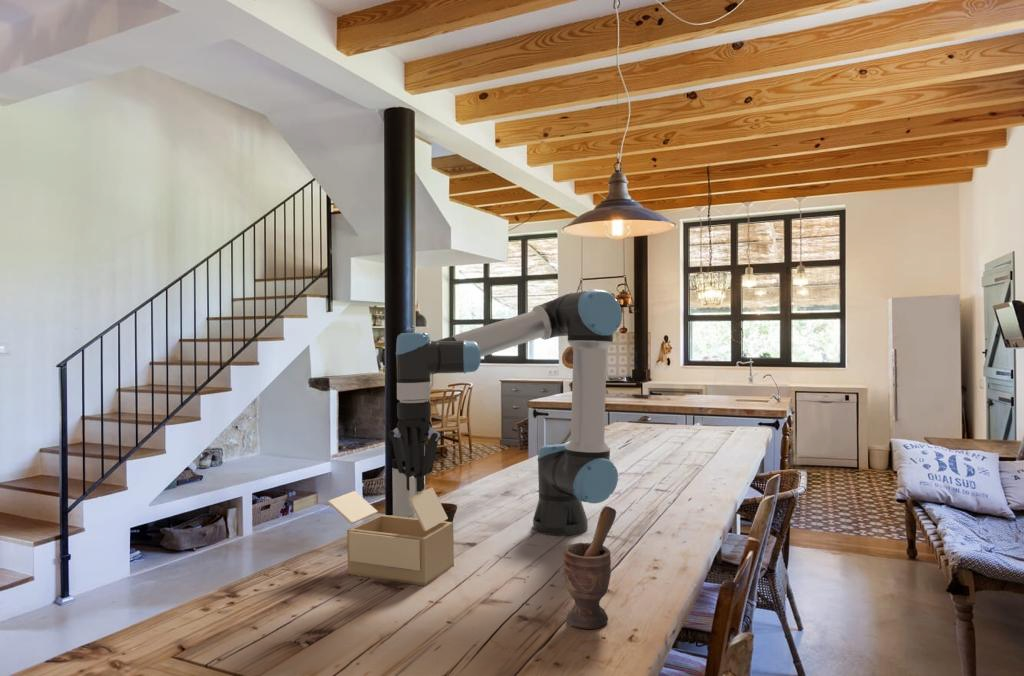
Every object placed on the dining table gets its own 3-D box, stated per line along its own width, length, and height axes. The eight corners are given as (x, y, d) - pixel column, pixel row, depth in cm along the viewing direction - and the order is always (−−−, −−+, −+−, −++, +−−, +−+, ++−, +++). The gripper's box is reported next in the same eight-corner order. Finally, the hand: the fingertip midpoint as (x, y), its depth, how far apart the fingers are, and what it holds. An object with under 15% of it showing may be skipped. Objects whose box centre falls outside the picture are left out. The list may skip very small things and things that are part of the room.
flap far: (352, 522, 142) (328, 500, 144) (351, 524, 142) (327, 502, 145) (377, 511, 151) (354, 490, 154) (376, 513, 151) (354, 492, 154)
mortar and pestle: (582, 601, 124) (580, 500, 124) (624, 610, 119) (622, 505, 120) (557, 625, 114) (555, 515, 114) (601, 635, 109) (599, 521, 109)
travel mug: (412, 529, 174) (410, 457, 174) (389, 528, 175) (388, 457, 175) (419, 523, 180) (418, 453, 180) (398, 522, 181) (397, 453, 181)
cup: (466, 535, 165) (462, 499, 164) (452, 550, 157) (447, 512, 156) (436, 533, 168) (431, 498, 167) (421, 549, 160) (416, 511, 159)
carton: (455, 564, 146) (454, 521, 146) (423, 587, 132) (422, 540, 132) (382, 554, 153) (382, 513, 153) (345, 575, 140) (345, 530, 140)
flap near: (446, 519, 144) (430, 488, 146) (448, 518, 144) (432, 487, 145) (424, 531, 135) (407, 498, 136) (426, 530, 135) (409, 497, 136)
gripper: (447, 399, 142) (449, 503, 142) (398, 398, 148) (400, 498, 147) (430, 403, 136) (432, 512, 135) (380, 401, 141) (382, 506, 140)
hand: (415, 505), depth 141 cm, fingers closed
